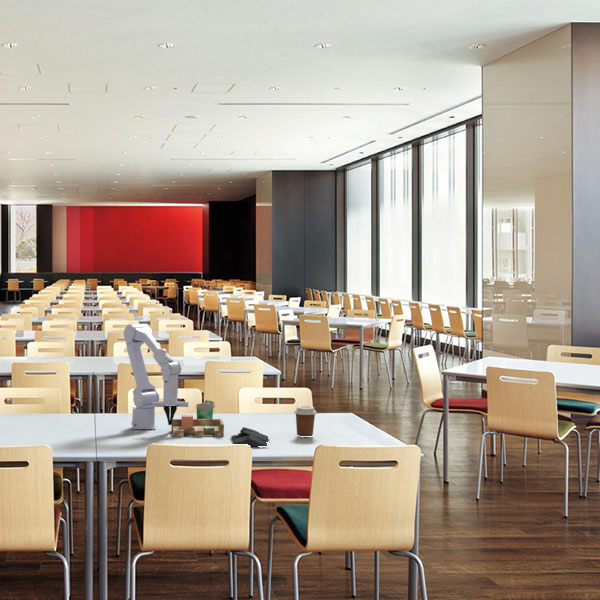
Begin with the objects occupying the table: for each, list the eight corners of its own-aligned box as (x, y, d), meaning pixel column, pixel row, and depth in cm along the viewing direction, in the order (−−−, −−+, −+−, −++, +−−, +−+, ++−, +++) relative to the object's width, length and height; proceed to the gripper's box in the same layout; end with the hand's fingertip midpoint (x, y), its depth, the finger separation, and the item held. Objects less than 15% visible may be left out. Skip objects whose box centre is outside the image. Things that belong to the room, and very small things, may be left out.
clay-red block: (181, 427, 340) (181, 416, 340) (181, 425, 345) (181, 414, 345) (192, 427, 341) (193, 416, 341) (192, 425, 346) (192, 414, 346)
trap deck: (172, 437, 333) (172, 424, 333) (171, 431, 346) (171, 419, 346) (223, 436, 336) (223, 424, 336) (221, 430, 349) (221, 418, 349)
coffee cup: (290, 435, 343) (290, 406, 343) (310, 433, 347) (311, 405, 347) (298, 439, 335) (299, 409, 335) (319, 438, 339) (320, 408, 338)
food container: (209, 428, 354) (210, 404, 354) (195, 427, 356) (196, 404, 355) (218, 423, 367) (218, 400, 366) (204, 422, 368) (205, 400, 368)
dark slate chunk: (230, 449, 314) (230, 436, 314) (231, 438, 336) (231, 426, 336) (270, 449, 315) (271, 437, 315) (269, 438, 337) (269, 426, 337)
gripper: (152, 392, 336) (151, 426, 337) (188, 392, 339) (188, 426, 339) (152, 390, 343) (151, 423, 344) (188, 390, 346) (187, 423, 346)
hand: (169, 424), depth 342 cm, fingers closed
